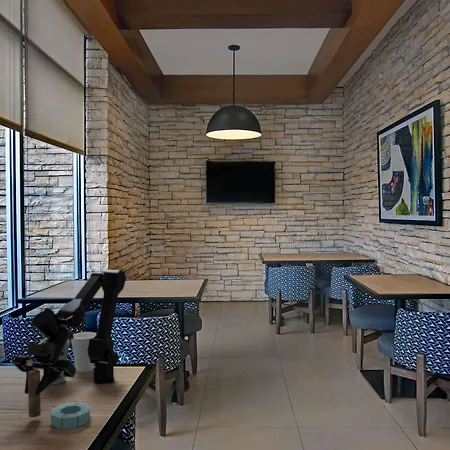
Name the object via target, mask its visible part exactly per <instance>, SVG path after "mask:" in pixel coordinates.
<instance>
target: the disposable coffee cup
mask: <svg viewBox="0 0 450 450" xmlns="http://www.w3.org/2000/svg"><path fill="white" fill-rule="evenodd" d="M47 338H48V337H45V338H43V339H42V340H40V341H39V343H38V344H41V343H42V342H43V343H45V342H46V340H47ZM69 348H70V339H68V340H67V342H66V344H65V347H64V349H63V352H64V355H63V356H60V357H59V359H58V360H68V359H69V358H68V357H69ZM42 373H44V369H42ZM60 376H61V378H60V379H57V380H56V381H54V382H53V383H52V384H51V385H58V384H61V383H63V382H65V380H66V377H65V375H64V371H63V372H61V375H60Z"/></svg>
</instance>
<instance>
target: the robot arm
mask: <svg viewBox="0 0 450 450" xmlns="http://www.w3.org/2000/svg"><path fill="white" fill-rule="evenodd" d="M89 276H90V277H89V278H88V279H87V281H86V282H85V283H84V285H83V286H82V287H81V289H80V290H79V292H78V293H77V294H76V296H75V297H74V298H73V299H72V300H71V301H69V302H66V303H65V304H64V305H63V306H62V307H61V308H60V309H59V310H58V311H57V312H54V310H53V309H52V308H50V307H46V308H44V309H43V310H42V311H40V312H38V313H36V315H35V316H33V318H32V321H31V325H32V327H34V328H35V329H36V330H37V331H38V332H39V333H40V334H42V336H44V337H45V338H47V340H46V342H45V343H43V342H42V343H41V344H39V343H28V347H27V350H26V355H17V356H16V355H15V357H14V358H13V360H12V362H11V364H12V365H13V366H14V367H15V368H16V369H18V370H19V371H20V372H23V373H25V377H26V378H25V386H24V394H26V395H27V394H28V372H29V371H32V370H43V369H44V372H42V373H43V374H42V377H41V378H40V383H39V385H38V387H37V390H36V392H35V394H36V395H39V394H40V395H41V393H43V392H44V390H45V389H47V388H48V387H49V386H50V385H53V384H52V383H53V382H54V381H56V380H57V379H60V378H61V376H60V375H61V372H63V371H64V375H65V378H74V377H75V375H76V373H77V371H76V367H75V364H73V363H72V362H71V360H68V359H67V360H58V359H59V357H60V356H63V355H64V352H63V349H64V347H65V344H66V342H67V340H71V339H73V338H74V336H73V335H74V334H73V330H71V329H68V328H79V327H80V326H81V324H82V322H83V320H84V319H85V317H86V309H87V307H88V306H89V304H90V303H91V302H92V300H93V299H94V298H95V296H96V295H97V293H98V292H99V290H100V289H102V292H103V297H102V301H101V302H102V303H101V308H100V313H99V317H98V325H97V329H96V335H95V337H94V338H93V339H91V338H90V340H89V346H88V349H87V350H88V356H89V359H90V363H94V367H93V370H92V372H93V381H94V384H95V385H98V384H99V385H100V384H109V383H115V377H114V374H115V373H114V371H115V370H114V367H115V365H117V364H118V363H119V358H120V357H119V355H118V354H117V352H116V351H115V350H114V346H115V344H114V340H113V338H112V332H113V331H112V330H113V324H114V319H115V314H116V309H117V303H118V298H119V294H121V292H122V291H123V290H124V288H125V284H126V280H127V275H126V274H125V272H124V271H123V270H120V269H106V270H104V271H92V273H91V274H90V275H89ZM29 355H31V356H32V358H33V359H34V360H32V358H30V357H29ZM35 360H36V361H35Z"/></svg>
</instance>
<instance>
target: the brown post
mask: <svg viewBox="0 0 450 450" xmlns="http://www.w3.org/2000/svg"><path fill="white" fill-rule="evenodd" d="M40 381H41V370H40V369H38V370H32V371H29V372H28V396H27V397H28V400H27V401H28V403H27V404H28V417H29V418H36V417H39V416H41V415H42V414H41V411H42V409H41V406H42V405H41V403H42V402H41V393H40V394H39V395H36V394H35V392H36V390H37V387H38V385H39V383H40Z"/></svg>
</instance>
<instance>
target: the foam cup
mask: <svg viewBox="0 0 450 450" xmlns="http://www.w3.org/2000/svg"><path fill="white" fill-rule="evenodd" d="M96 334H97V332H92V331H85V332H77V333H74V334H73V336H74V338H73V339H70V341H71V345H72V353H73V359H74V366H75V368H76V373H87V372H88V373H89V372H91V371H93V367H95V364H94V363H90V359H89V356H88V350H87V349H88V346H89V340H90V338H91V339H93V338H94V337H95V335H96Z"/></svg>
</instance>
